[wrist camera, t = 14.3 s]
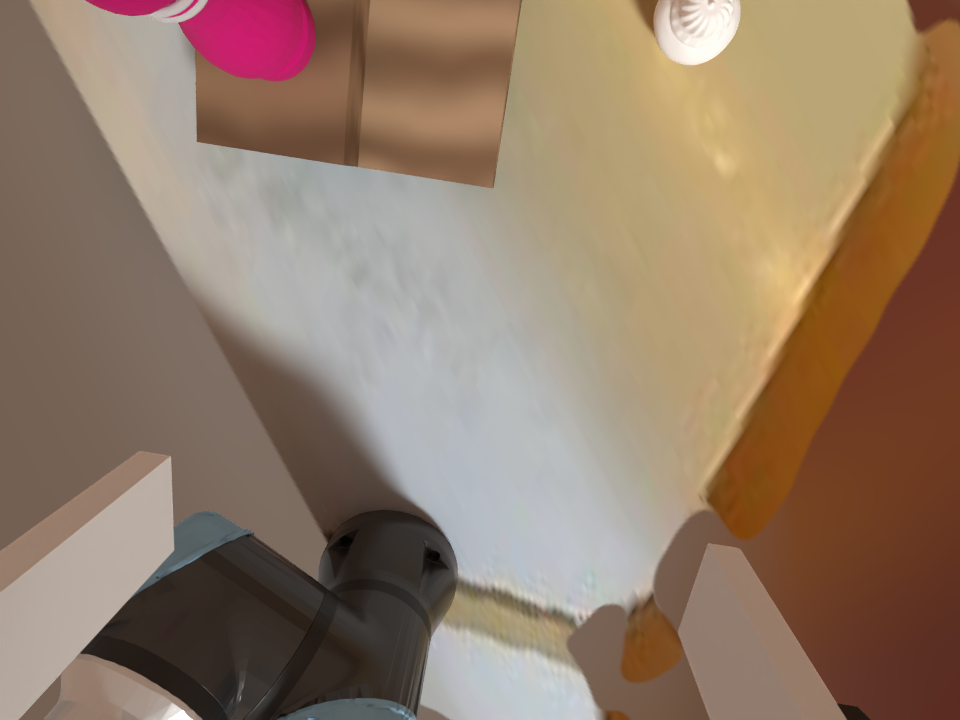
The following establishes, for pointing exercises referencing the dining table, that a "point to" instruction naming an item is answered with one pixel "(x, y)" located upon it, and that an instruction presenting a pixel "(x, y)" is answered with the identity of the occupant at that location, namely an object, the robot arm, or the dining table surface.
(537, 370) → the dining table surface
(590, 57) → the dining table surface
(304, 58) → the pepper mill
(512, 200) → the dining table surface
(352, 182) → the dining table surface
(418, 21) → the step stand
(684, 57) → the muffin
